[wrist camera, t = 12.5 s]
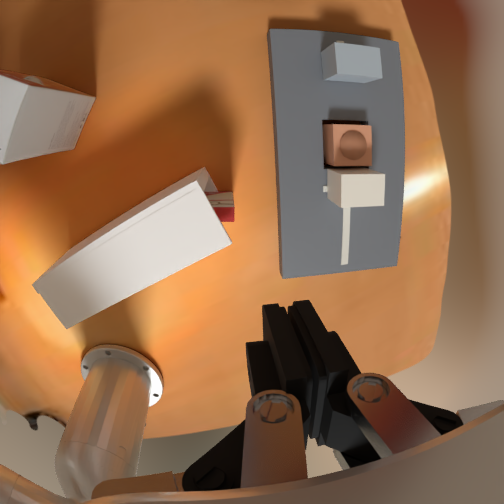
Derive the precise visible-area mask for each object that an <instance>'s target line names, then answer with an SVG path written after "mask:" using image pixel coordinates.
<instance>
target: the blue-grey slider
mask: <svg viewBox="0 0 504 504" xmlns="http://www.w3.org/2000/svg"><path fill="white" fill-rule="evenodd" d="M321 58H322V70H323V80H329V81H345V82H357V83H367V82H370V81H374V80H378V79H382V78H383V77H382V66H381V56H380V48H376V47H370V46H363V45H355V44H347V43H337V42H334V43H333V44H331V45H330V46H329V47H327V48H326V49H325V50H323V51H322V52H321Z"/></svg>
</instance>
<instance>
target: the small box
mask: <svg viewBox="0 0 504 504" xmlns="http://www.w3.org/2000/svg"><path fill="white" fill-rule="evenodd" d="M95 99H96V97H95V96H92V95H89V94H86V93H83V92H80V91H78V90H75V89H73V88H70V87H67V86H65V85H62V84H60V83H57V82H54V81H52V80H49V79H47V78H44V77H38V76H34V75H28V74H23V73H18V72H12V71H7V70H1V69H0V164H7V163H11V162H15V161H19V160H23V159H28V158H32V157H37V156H41V155H46V154H51V153H56V152H61V151H67V150H73V149H74V148H75V146H76V143H77V141H78V138H79V136H80V133H81V131H82V128H83V126H84V123H85V121H86V119H87V116H88V114H89V112H90V110H91V107H92V105H93V103H94V101H95Z"/></svg>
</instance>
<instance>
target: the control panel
mask: <svg viewBox="0 0 504 504" xmlns="http://www.w3.org/2000/svg"><path fill="white" fill-rule="evenodd" d="M267 40H268V53H269V67H270V81H271V96H272V111H273V128H274V146H275V165H276V186H277V209H278V235H279V266H280V273H281V276H282V279H286V278H296V277H305V276H315V275H324V274H333V273H342V272H350V271H359V270H367V269H376V268H384V267H392V266H397V260H398V252H399V243H400V233H401V222H402V209H403V193H404V168H405V123H404V98H403V83H402V71H401V61H400V52H399V43H398V42H396V41H391V40H386V39H380V38H374V37H368V36H362V35H354V34H347V33H338V32H328V31H316V30H298V29H269V31H268V34H267ZM334 42H337V43H347V44H355V45H363V46H370V47H376V48H380V56H381V66H382V77H383V78H382V79H378V80H374V81H370V82H367V83H357V82H345V81H329V80H323V70H322V58H321V52H322V51H323V50H325V49H326V48H327V47H329V46H330V45H331V44H333V43H334ZM322 120H344V121H360V125H369V126H371V132H372V166H332V167H324V160H323V130H322ZM339 168H368V169H371V170H374V171H377V172H380V173H383V174H385V195H384V206H368V207H348V208H341V207H339V206H338V205H336V204H335V203H334V202H332V201H331V200H329V199H328V198H327V169H339Z"/></svg>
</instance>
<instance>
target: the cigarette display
mask: <svg viewBox="0 0 504 504" xmlns="http://www.w3.org/2000/svg"><path fill="white" fill-rule="evenodd" d="M221 222H234V200H233V192H232V191H218V190H217V188H216V186H215V184H214V182H213V181H212V179H211V177H210V175H209V173H208V171H207V170H206V168H205V167H203V168H201V169H199V170H197V171H196V172H194V173H192V174H190V175H188V176H186V177H185V178H183V179H181V180H179V181H178V182H176V183H174V184H172V185H170V186H169V187H167V188H165V189H164V190H162V191H160V192H158V193H157V194H155V195H153V196H152V197H150V198H148V199H147V200H145V201H143V202H142V203H140V204H138V205H137V206H135V207H133V208H132V209H130V210H129V211H127V212H125V213H124V214H122V215H121V216H119V217H117V218H116V219H114V220H113V221H111V222H110V223H108V224H106V225H105V226H103V227H102V228H100V229H99V230H97V231H96V232H94V233H93V234H91V235H90V236H88V237H87V238H85V239H84V240H82V241H81V242H79V243H78V244H77V245H75V246H74V247H72V248H71V249H69V250H68V251H67V252H66V253H65V254H64V255H63V256H62V257H61V258H60V259H58V260H57V261H56V262H55V263H54V264H53V265H52V266H51V267H50V268H49V269H48V270H47V271H46V272H45V273H44V274H42V275H41V276H40V277H39V278H38V279H37V280H36V281H35V282H34V283H33V284H32V286H33V287H34V289H35V290H36V291H37V293H38V294H39V293H40V294H41V296H42V297H43V299H44V300H45V301H46V303H47V304H48V306H49V307H50V308H51V310H52V311H53V312H54V314H55V315H56V316H57V318H58V319H59V320H60V321H61V323H62V324H63V325H64V326H65V328H66V329H68V328H70V327H72V326H74V325H76V324H78V323H79V322H81V321H83V320H85V319H87V318H89V317H91V316H93V315H95V314H96V313H98V312H100V311H102V310H104V309H106V308H108V307H110V306H112V305H114V304H115V303H117V302H119V301H121V300H123V299H125V298H127V297H129V296H131V295H133V294H135V293H137V292H139V291H140V290H142V289H144V288H146V287H148V286H150V285H152V284H154V283H156V282H158V281H160V280H162V279H164V278H166V277H168V276H170V275H171V274H173V273H175V272H177V271H179V270H181V269H183V268H185V267H187V266H189V265H191V264H193V263H195V262H197V261H199V260H201V259H203V258H205V257H207V256H209V255H211V254H213V253H215V252H217V251H219V250H221V249H223V248H225V247H227V246H229V245H231V244H232V241H231V239H230V237H229V236H228V234H227V232H226V230H225V229H224V227H223V225H222V223H221Z"/></svg>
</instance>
